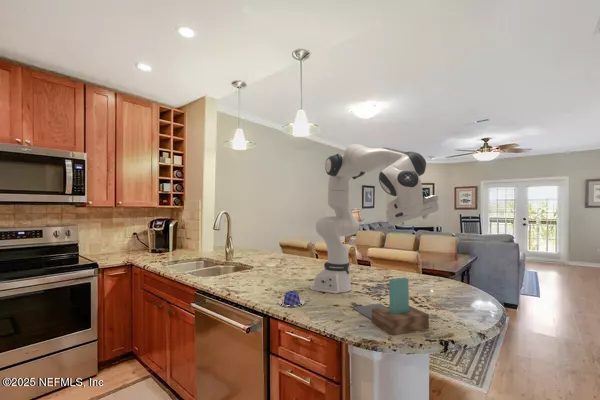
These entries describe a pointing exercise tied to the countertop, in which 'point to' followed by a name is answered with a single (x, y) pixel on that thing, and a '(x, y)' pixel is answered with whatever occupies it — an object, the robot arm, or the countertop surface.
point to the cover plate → (399, 295)
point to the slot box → (400, 320)
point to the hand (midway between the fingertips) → (413, 221)
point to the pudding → (292, 299)
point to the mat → (368, 309)
